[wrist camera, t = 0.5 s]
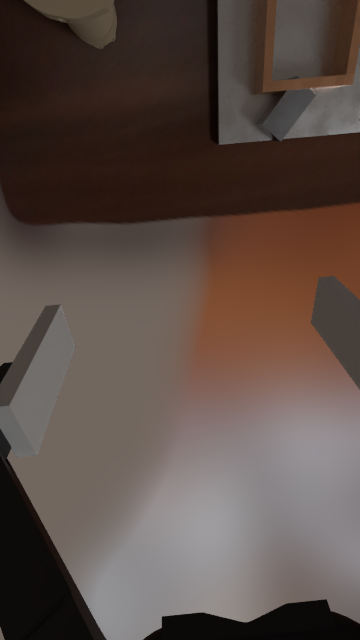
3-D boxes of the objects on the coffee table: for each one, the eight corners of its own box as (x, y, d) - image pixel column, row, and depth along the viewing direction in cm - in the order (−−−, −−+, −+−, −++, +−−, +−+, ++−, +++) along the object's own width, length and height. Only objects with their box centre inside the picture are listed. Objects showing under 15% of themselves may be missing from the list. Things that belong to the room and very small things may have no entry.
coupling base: (214, -107, 26) (223, -141, 23) (408, -122, 26) (445, -159, 23) (217, 144, 36) (223, 147, 32) (358, 132, 36) (379, 133, 32)
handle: (63, -15, 28) (-16, -129, 16) (135, -1, 29) (117, -98, 16) (66, 54, 31) (1, 5, 18) (133, 65, 31) (115, 26, 19)
